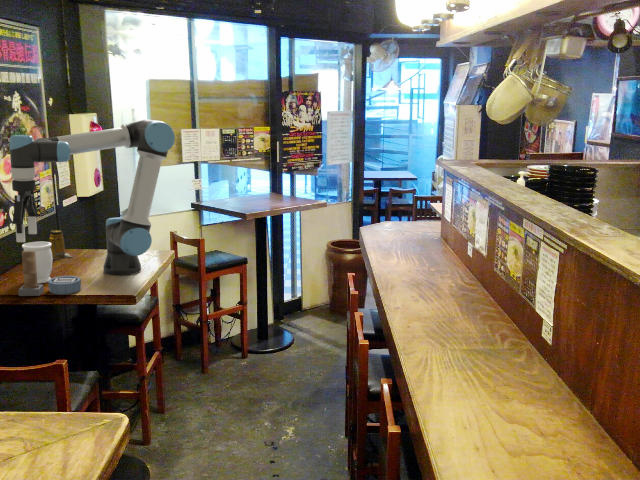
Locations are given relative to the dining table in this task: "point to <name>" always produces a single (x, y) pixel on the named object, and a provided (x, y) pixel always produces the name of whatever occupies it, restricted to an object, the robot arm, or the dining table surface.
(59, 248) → the condiment
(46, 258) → the jar
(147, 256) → the dining table surface
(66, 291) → the candle dish
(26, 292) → the grey slotted block
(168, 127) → the robot arm
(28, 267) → the brown long rectangular bar
